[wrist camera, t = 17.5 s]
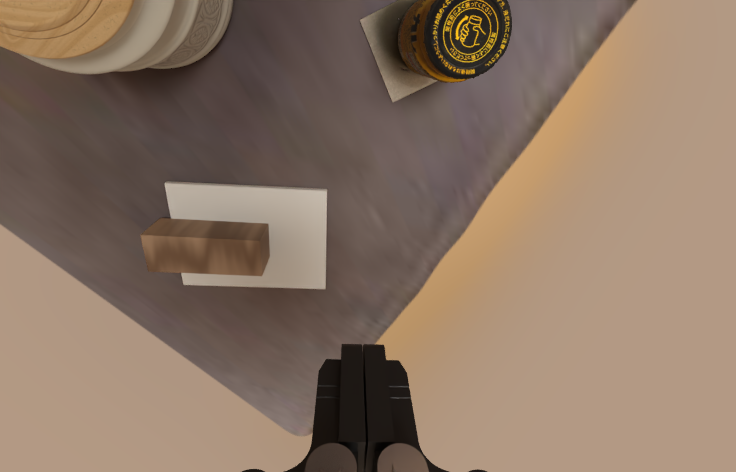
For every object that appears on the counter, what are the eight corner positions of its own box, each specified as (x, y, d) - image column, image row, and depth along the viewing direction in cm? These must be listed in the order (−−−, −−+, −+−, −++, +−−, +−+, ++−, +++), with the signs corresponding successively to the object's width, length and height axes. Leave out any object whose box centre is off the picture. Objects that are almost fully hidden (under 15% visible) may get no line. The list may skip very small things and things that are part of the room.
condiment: (478, 61, 33) (539, 64, 22) (392, 102, 34) (410, 123, 24) (453, -29, 30) (509, -75, 19) (359, 20, 31) (363, 2, 21)
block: (268, 223, 39) (160, 217, 38) (259, 240, 35) (140, 234, 34) (270, 256, 40) (166, 251, 40) (261, 276, 37) (148, 271, 36)
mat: (167, 181, 37) (164, 183, 36) (327, 188, 38) (326, 190, 37) (185, 281, 42) (183, 284, 42) (325, 286, 43) (325, 289, 43)
